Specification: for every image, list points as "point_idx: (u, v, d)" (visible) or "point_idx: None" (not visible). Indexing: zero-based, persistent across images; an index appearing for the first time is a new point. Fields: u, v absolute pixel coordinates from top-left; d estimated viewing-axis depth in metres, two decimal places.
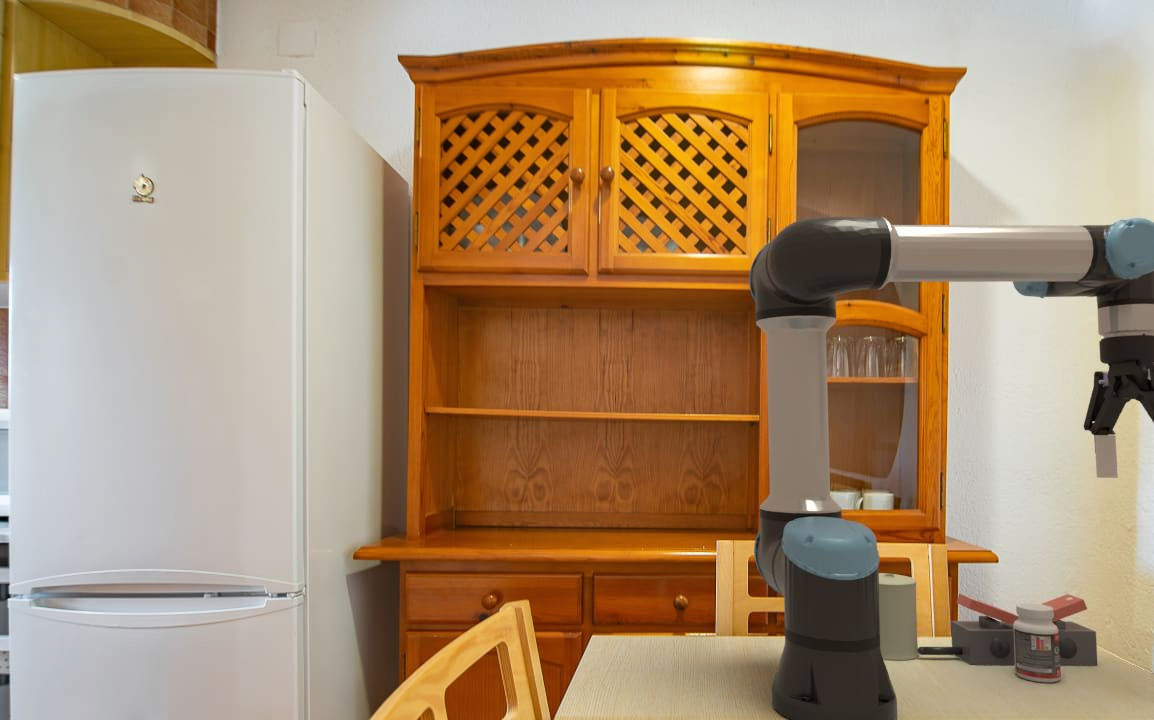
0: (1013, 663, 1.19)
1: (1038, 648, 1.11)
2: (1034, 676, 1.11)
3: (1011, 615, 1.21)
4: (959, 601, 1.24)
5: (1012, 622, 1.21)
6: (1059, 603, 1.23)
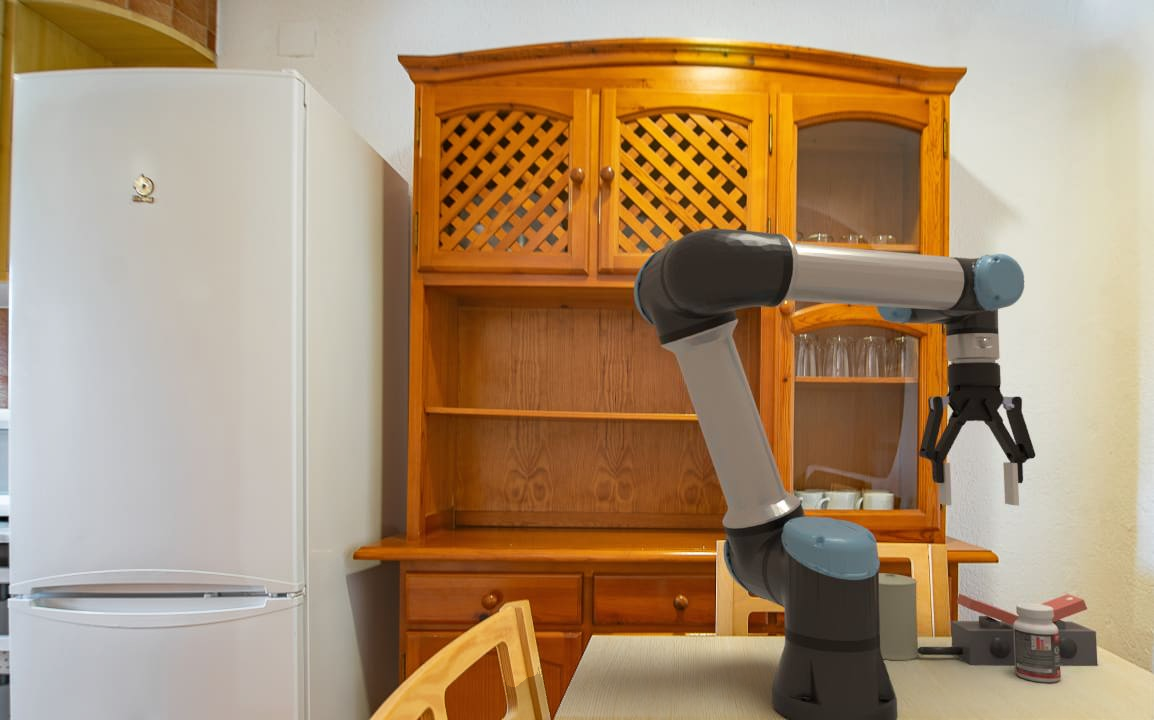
0: (1013, 663, 1.19)
1: (1038, 648, 1.11)
2: (1034, 676, 1.11)
3: (1011, 615, 1.21)
4: (959, 601, 1.24)
5: (1012, 622, 1.21)
6: (1059, 603, 1.23)
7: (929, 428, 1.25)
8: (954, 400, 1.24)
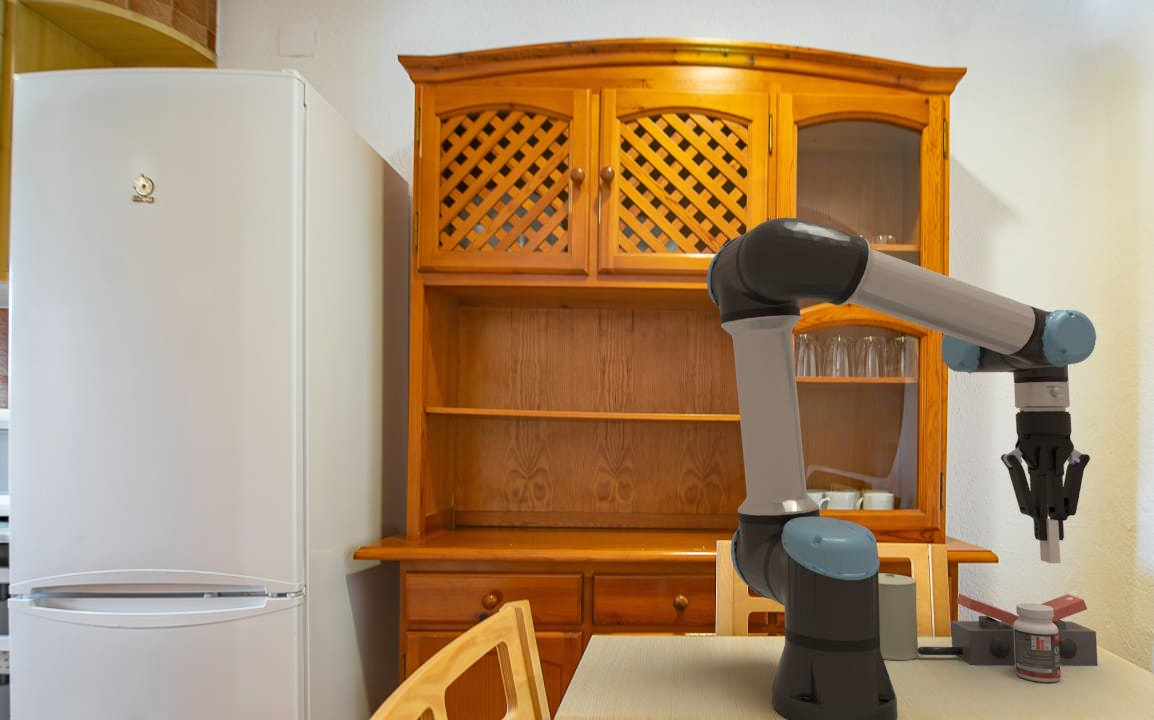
0: (1013, 663, 1.19)
1: (1038, 648, 1.11)
2: (1034, 676, 1.11)
3: (1011, 615, 1.21)
4: (959, 601, 1.24)
5: (1012, 622, 1.21)
6: (1059, 603, 1.23)
7: (1018, 487, 1.24)
8: (1024, 449, 1.24)
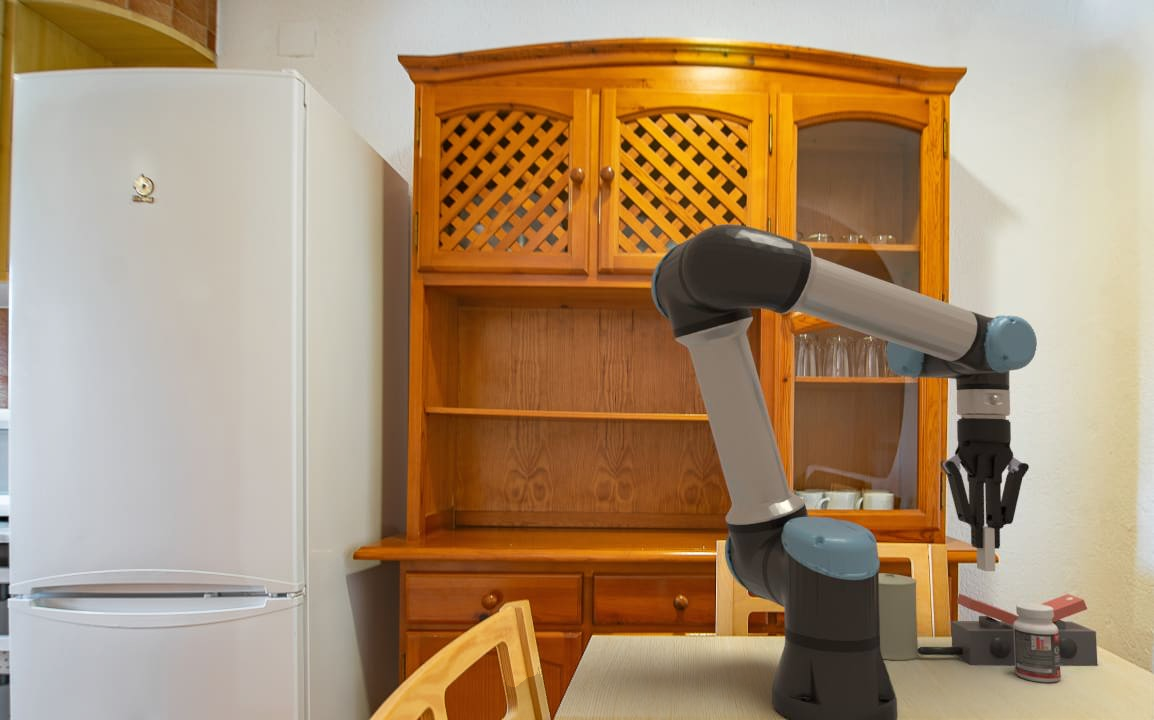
0: (1013, 663, 1.19)
1: (1038, 648, 1.11)
2: (1034, 676, 1.11)
3: (1011, 615, 1.21)
4: (959, 601, 1.24)
5: (1012, 622, 1.21)
6: (1059, 603, 1.23)
7: (956, 493, 1.24)
8: (963, 455, 1.24)
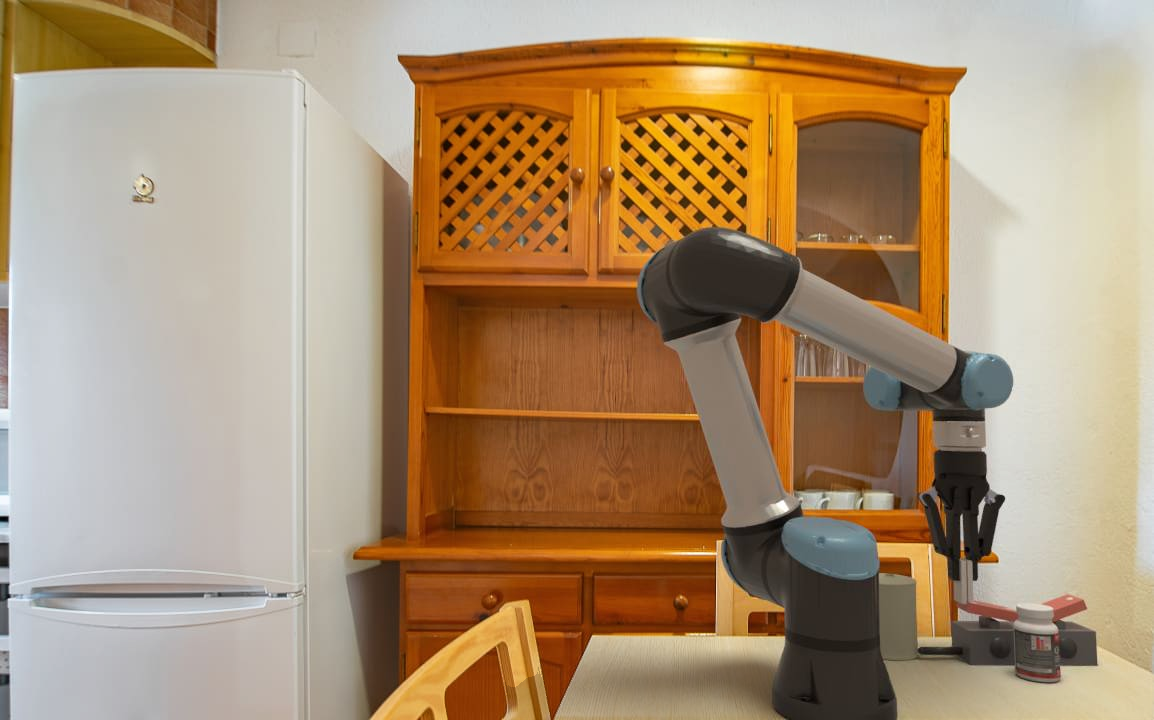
0: (1013, 663, 1.19)
1: (1038, 648, 1.11)
2: (1034, 676, 1.11)
3: (1011, 612, 1.21)
4: (958, 605, 1.24)
5: (1013, 619, 1.21)
6: (1059, 603, 1.23)
7: (932, 526, 1.24)
8: (940, 488, 1.23)
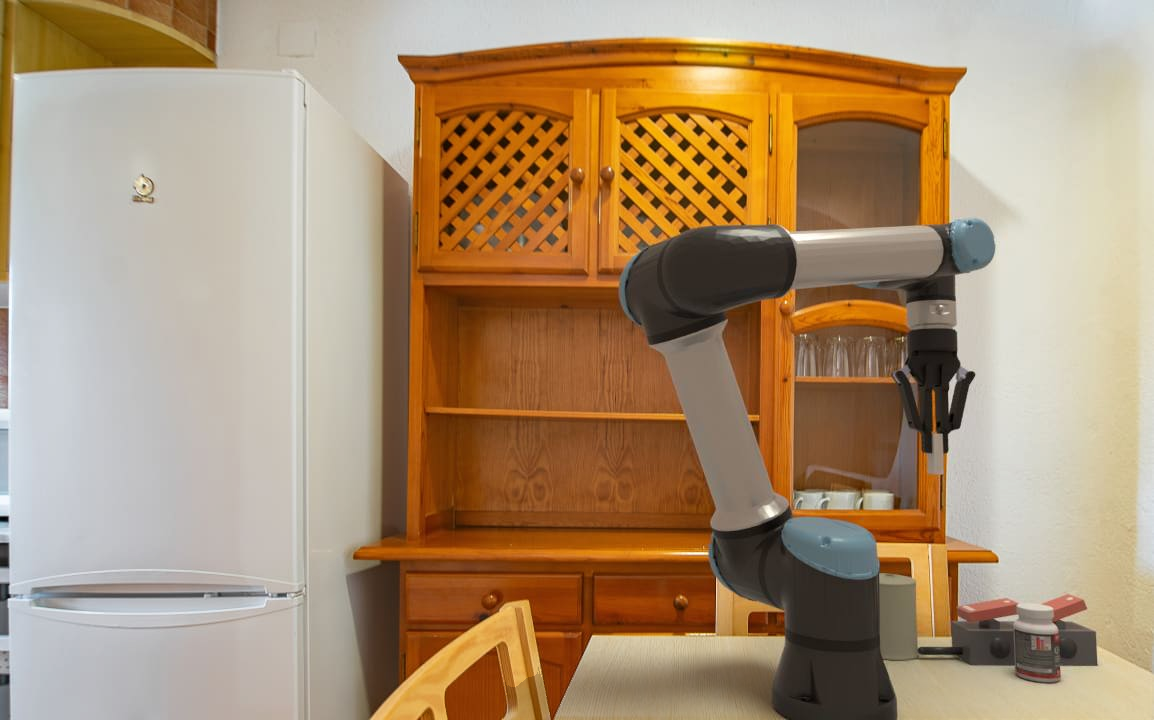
0: (1013, 663, 1.19)
1: (1038, 648, 1.11)
2: (1034, 676, 1.11)
3: (1010, 606, 1.21)
4: (960, 615, 1.24)
5: (1014, 612, 1.21)
6: (1059, 603, 1.23)
7: (905, 402, 1.29)
8: (912, 365, 1.29)
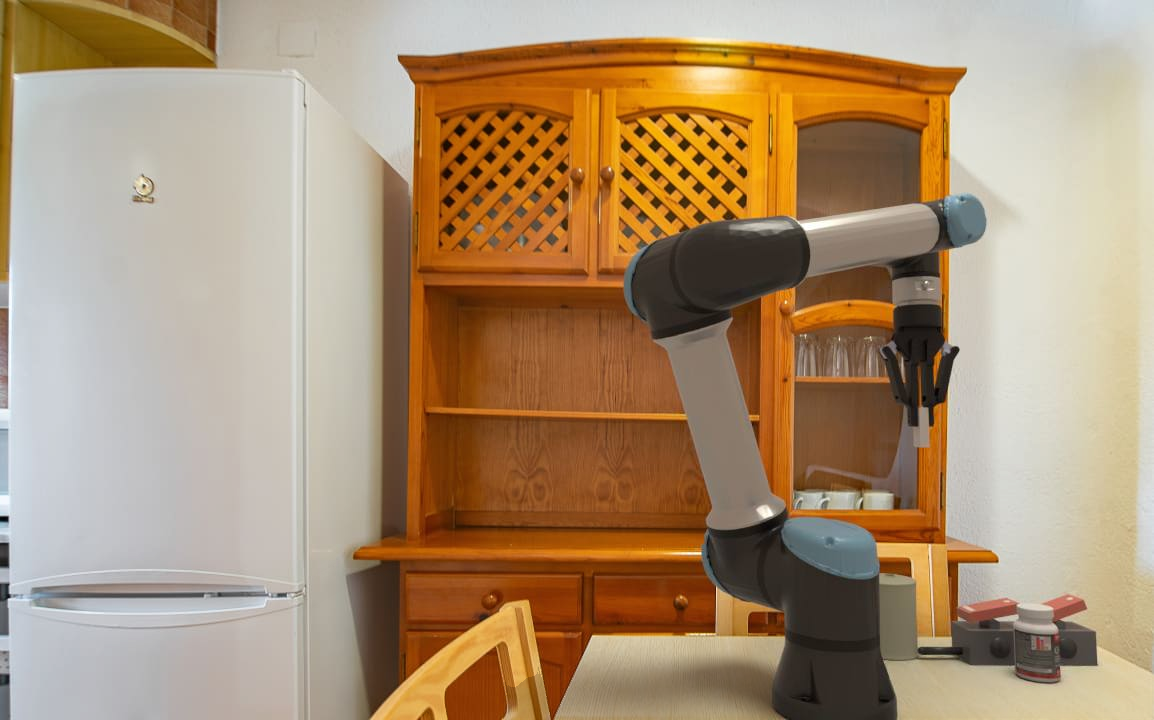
0: (1013, 663, 1.19)
1: (1038, 648, 1.11)
2: (1034, 676, 1.11)
3: (1009, 606, 1.21)
4: (960, 615, 1.24)
5: (1014, 612, 1.21)
6: (1059, 603, 1.23)
7: (892, 376, 1.31)
8: (898, 340, 1.31)
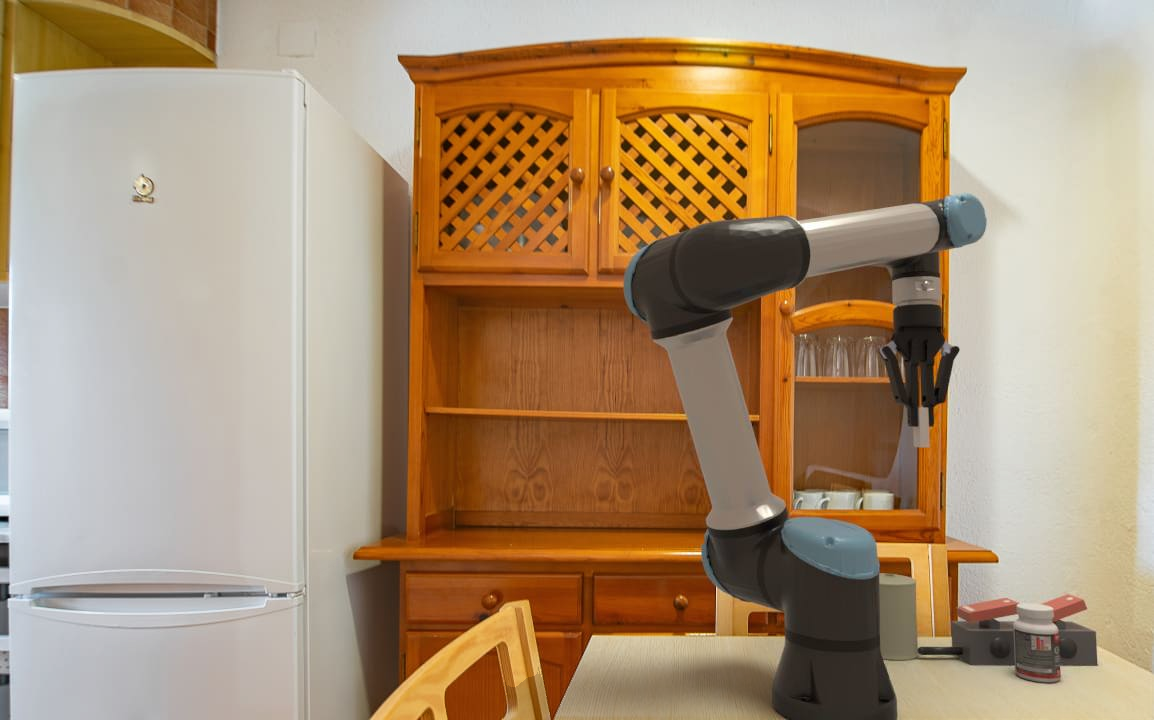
0: (1013, 663, 1.19)
1: (1038, 648, 1.11)
2: (1034, 676, 1.11)
3: (1009, 606, 1.21)
4: (960, 615, 1.24)
5: (1014, 612, 1.21)
6: (1059, 603, 1.23)
7: (892, 376, 1.31)
8: (898, 340, 1.31)
